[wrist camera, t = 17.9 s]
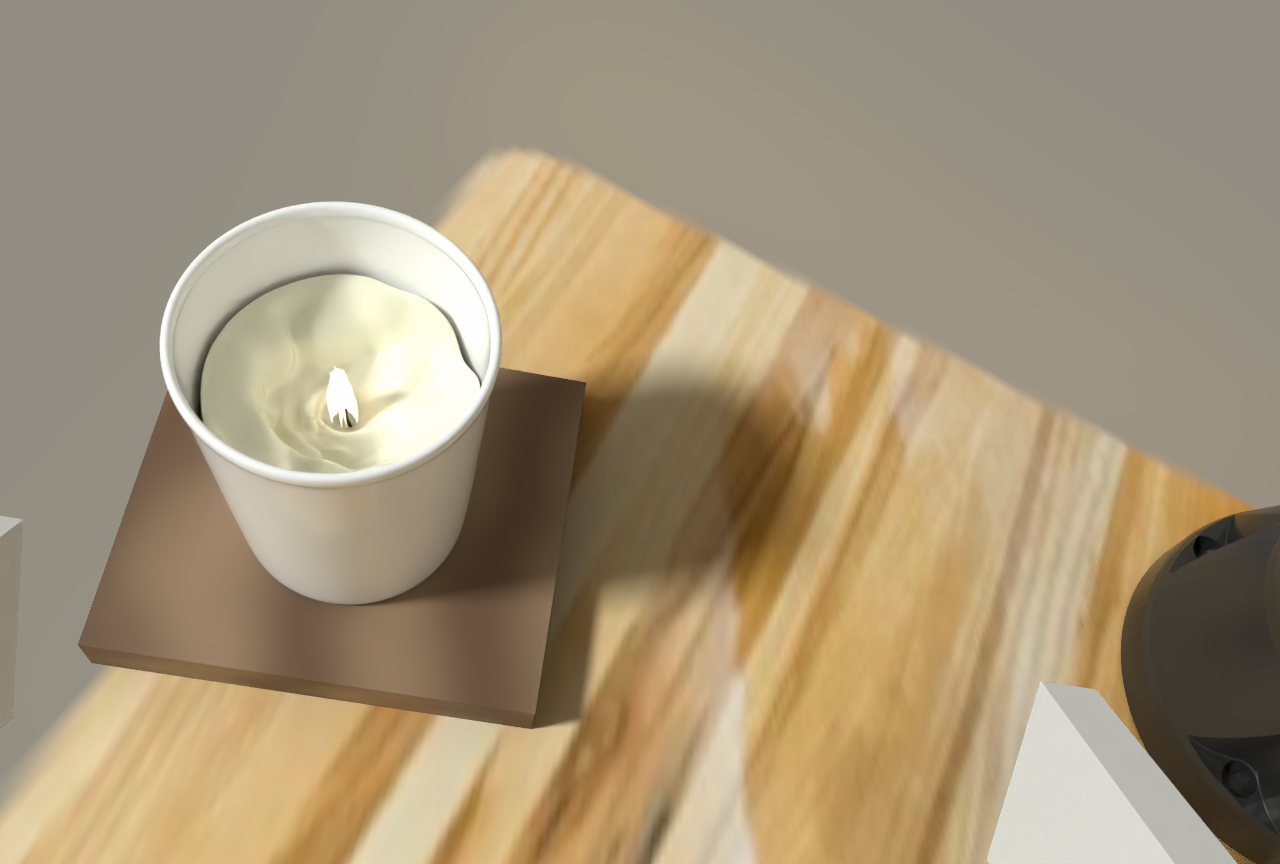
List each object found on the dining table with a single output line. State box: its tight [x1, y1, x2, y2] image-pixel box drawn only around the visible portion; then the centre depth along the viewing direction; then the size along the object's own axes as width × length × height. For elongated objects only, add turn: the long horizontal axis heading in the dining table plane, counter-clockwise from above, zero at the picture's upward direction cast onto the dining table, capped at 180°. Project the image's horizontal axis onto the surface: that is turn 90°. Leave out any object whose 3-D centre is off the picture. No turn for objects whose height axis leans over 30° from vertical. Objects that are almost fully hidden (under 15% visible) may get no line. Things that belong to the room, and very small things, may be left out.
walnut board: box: [78, 368, 586, 729], centre depth 47 cm, size 16×14×2 cm
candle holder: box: [160, 202, 502, 605], centre depth 41 cm, size 10×10×12 cm
